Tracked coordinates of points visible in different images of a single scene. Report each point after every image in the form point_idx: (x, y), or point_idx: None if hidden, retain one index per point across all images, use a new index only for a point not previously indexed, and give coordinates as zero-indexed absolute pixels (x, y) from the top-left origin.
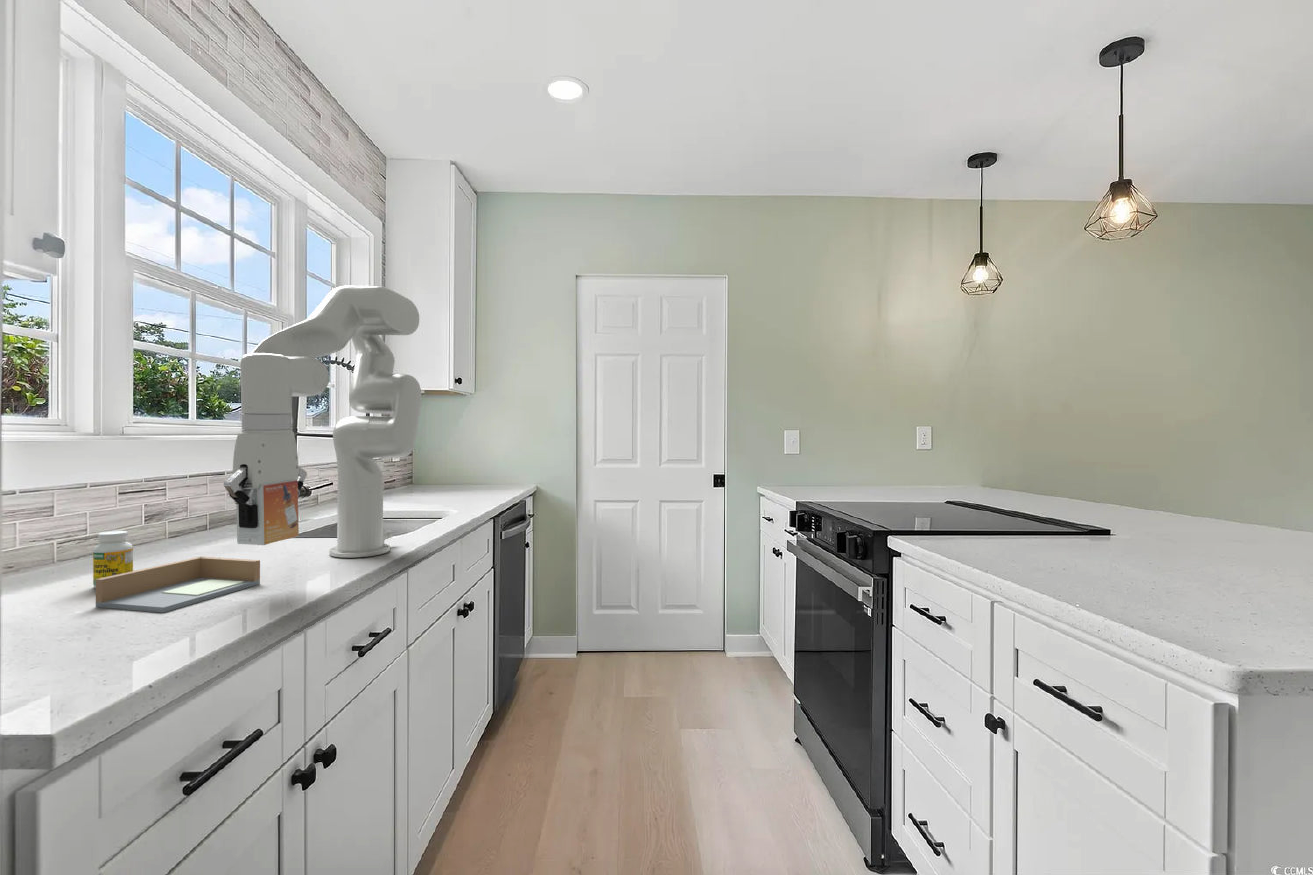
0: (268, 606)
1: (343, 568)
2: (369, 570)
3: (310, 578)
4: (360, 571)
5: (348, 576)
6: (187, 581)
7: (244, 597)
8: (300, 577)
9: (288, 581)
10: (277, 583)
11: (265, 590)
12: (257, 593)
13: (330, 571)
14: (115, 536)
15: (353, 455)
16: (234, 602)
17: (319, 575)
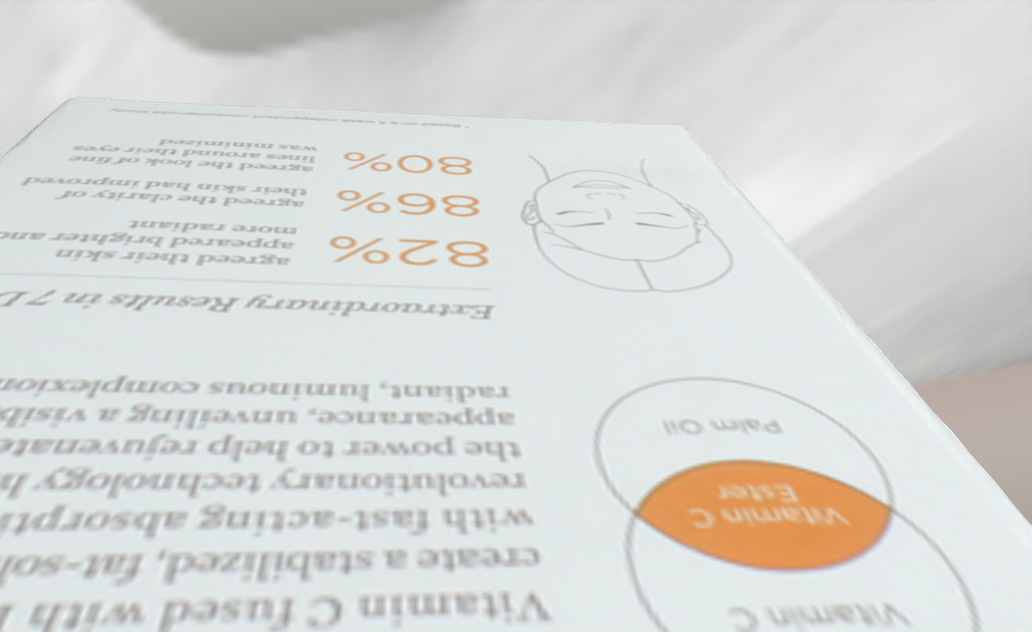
0: None
1: (1029, 171)
2: (945, 360)
3: (730, 154)
4: (922, 328)
5: None
6: None
7: (151, 97)
8: (758, 60)
9: (632, 61)
10: (564, 23)
11: (360, 95)
12: (273, 103)
13: (941, 145)
14: None
15: None
16: (21, 134)
17: (820, 153)
